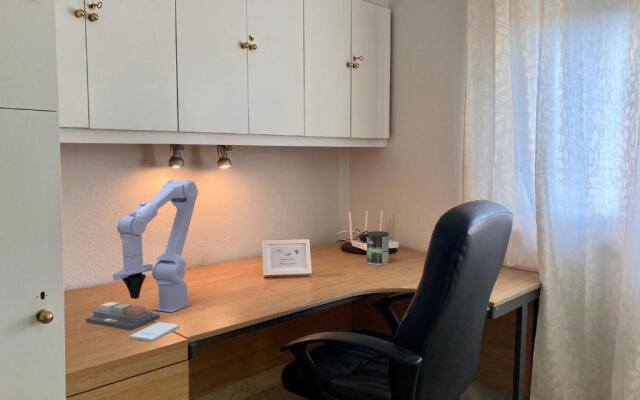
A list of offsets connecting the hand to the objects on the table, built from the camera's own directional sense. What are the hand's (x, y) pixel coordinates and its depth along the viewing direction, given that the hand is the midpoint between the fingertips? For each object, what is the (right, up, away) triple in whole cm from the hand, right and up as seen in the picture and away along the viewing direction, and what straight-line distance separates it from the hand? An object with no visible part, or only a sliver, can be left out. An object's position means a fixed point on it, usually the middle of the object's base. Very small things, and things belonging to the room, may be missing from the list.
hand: (134, 298), depth 161 cm
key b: (-5, -5, +3) cm, 8 cm away
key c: (0, -5, +1) cm, 5 cm away
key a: (-10, -5, +5) cm, 12 cm away
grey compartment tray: (-5, -8, +3) cm, 9 cm away
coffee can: (+85, +1, +80) cm, 117 cm away
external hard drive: (+9, -9, -9) cm, 16 cm away
